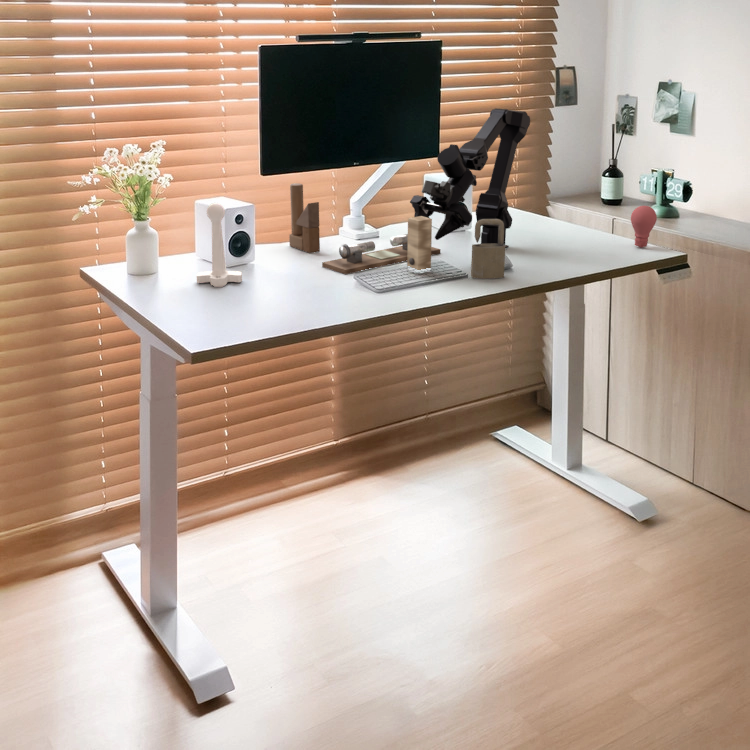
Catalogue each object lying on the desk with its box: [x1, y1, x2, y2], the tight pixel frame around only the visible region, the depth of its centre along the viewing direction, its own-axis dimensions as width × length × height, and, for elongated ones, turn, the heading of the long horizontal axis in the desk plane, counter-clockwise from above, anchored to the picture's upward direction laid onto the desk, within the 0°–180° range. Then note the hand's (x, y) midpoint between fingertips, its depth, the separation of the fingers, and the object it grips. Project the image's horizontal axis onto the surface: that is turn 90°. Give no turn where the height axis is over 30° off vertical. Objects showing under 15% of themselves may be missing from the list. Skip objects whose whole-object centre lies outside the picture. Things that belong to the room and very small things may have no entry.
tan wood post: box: [406, 216, 433, 270], centre depth 254 cm, size 5×4×14 cm
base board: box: [321, 245, 441, 275], centre depth 267 cm, size 34×10×2 cm, turn 130°
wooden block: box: [288, 182, 321, 254], centre depth 276 cm, size 4×11×18 cm, turn 36°
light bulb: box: [630, 205, 658, 249], centre depth 278 cm, size 7×7×12 cm
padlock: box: [470, 219, 506, 280], centre depth 249 cm, size 4×8×15 cm, turn 94°
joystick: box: [196, 202, 243, 288], centre depth 242 cm, size 11×8×20 cm
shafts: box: [338, 233, 408, 264], centre depth 266 cm, size 28×4×5 cm, turn 130°
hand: (423, 235), depth 254 cm, fingers open, 9 cm apart
